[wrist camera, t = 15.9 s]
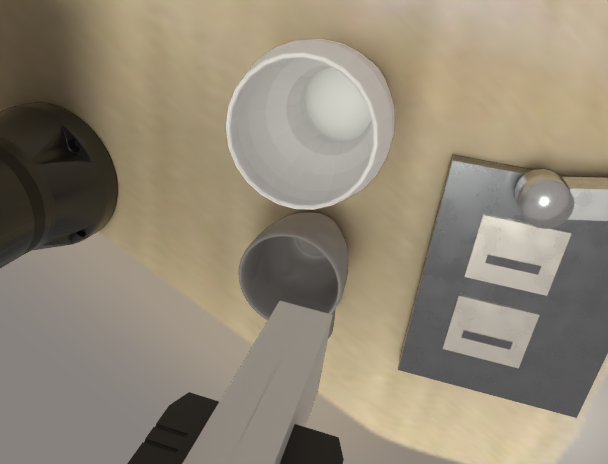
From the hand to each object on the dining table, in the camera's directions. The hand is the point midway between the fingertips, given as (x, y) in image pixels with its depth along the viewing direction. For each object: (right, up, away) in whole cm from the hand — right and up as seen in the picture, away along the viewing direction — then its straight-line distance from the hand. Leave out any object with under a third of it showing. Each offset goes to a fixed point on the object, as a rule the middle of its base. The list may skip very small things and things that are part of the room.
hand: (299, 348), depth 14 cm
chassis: (+20, -2, +32) cm, 37 cm away
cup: (+4, +15, +29) cm, 33 cm away
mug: (+2, +1, +36) cm, 36 cm away
